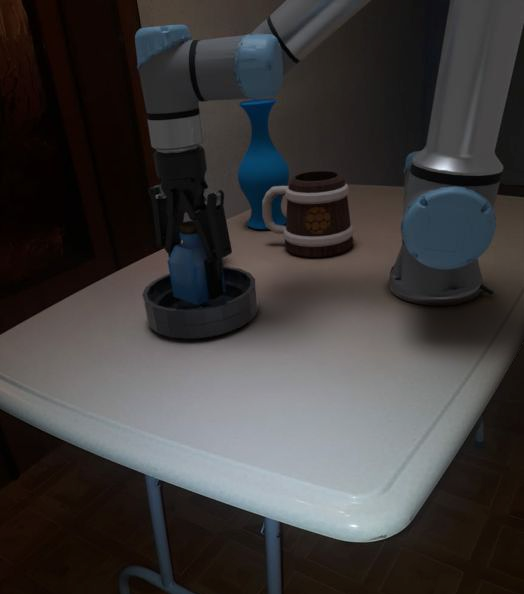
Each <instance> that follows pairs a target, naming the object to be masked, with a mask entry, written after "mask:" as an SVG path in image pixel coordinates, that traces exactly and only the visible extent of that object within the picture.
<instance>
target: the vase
mask: <svg viewBox="0 0 524 594" xmlns="http://www.w3.org/2000/svg"><path fill="white" fill-rule="evenodd" d="M277 100H278V99H274V98H259V99H256V100H252V99H250V100H246V101H241V102H239V103H238V105H239V106H240V107H241V108H242V110H244V112H245V113H246V115H247V116H248V119H249V122H250V129H251V136H250V137H251V138H250V141H249V142H250V143H249V145H248V148H247V149H246V152H245V154H244V156H243V157H242V159H241V161H240V163H239V166H238V170H237V181H238V185H239V188H240V190H241V192H242V193H243V195H244V197H245V198H246V200H247V201H248V203H249V206H250V216H249V219H248V220H247V223H246V224H247V226H248V227H249V228H251V229H253V230H270V229H269V228H268V227H266V225H265V222H264V219H263V211H262V201H263V199H264V197H265V194H266V192H267V191H268V190H270V189H271V188H272V187H275V186H288V184H289V181H290V170H289V166H288V163H287V161H286V159H285V158H284V157H283V156H282V154H281V153H280V151H279V150H278V149H277V147H276V146H275V144H274V142H273V141H272V138H271V136H270V132H269V116H270V114H271V111H272V109H273V107H274V106H275V104H276V102H278V101H277ZM283 198H284V195H277V196H276V197H275V198H274V199H273V201H272V203H271V209H272V219H273V222H274V223H275V224H276V225H281V226H285V225H286V215H284V213H283V210H282V202H283Z"/></svg>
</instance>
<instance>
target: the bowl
mask: <svg viewBox="0 0 524 594" xmlns="http://www.w3.org/2000/svg"><path fill="white" fill-rule="evenodd" d="M223 271H224V280H225V288H226V292H225V293H224V294H222V295H220V296H219V297H217V298H215V299H214V300H211V299H210V300H208V301H206V302H204V303H202V304H200V305H196V304H193V303H190V302H187V301H185V300H182V299H179V298H176V297H174V295H173V290H172V284H171V278H170V273H167V274H164V275H162V276H160V277H159V278H157V279H155V280H153V281H152V282H151V283H149V284H148V285H147V286H146V287H145V288H144V290H143V292H142V294H141V296H142V301H143V305H144V311H145V315H146V320H147V323H148V326H149V328H150V329H151V330H152V331H154V332H156V333H157V334H159V335H163V336H165V337H169V338H174V339H175V338H177V339H183V340H197V339H200V340H201V339H207V338H208V339H209V338H214V337H216V336H221V335H224V334H227V333H230V332H232V331H235V330H237V329H238V328H241V327H243V326H244V325H246V324H247V323H249V322H251V321H252V320H253V319H254V317H255V316H256V315H257V313H258V310H259V307H258V306H259V303H258V294H257V283H256V278H255V277H254V276H253V275H252V274H251V272H249V271H247V270H244V269H242V268H238V267H233V266H229V265H227V266H226V265H225V266H224V265H223Z"/></svg>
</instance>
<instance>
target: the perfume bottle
mask: <svg viewBox="0 0 524 594" xmlns="http://www.w3.org/2000/svg"><path fill="white" fill-rule="evenodd" d="M179 226H180V228H181V231H180V239H181V241H182V242H181V244H179V245H176V246H175V247H174V249H173V251H172V253H171V255H170V257H169V256H168V260H167V265H168V266H167V267H168V272H169V274H170V278H171V284H172V290H173V295H174V297H176V298H179V299H182V300H185V301H187V302H190V303H193V304H196V305H200V304H202V303H204V302H206V301H208V300H210V299H209V292H208V285H207V278H206V271H205V263H204V261H205V260H206V259H208V257H207V255H206V252H205V250H204V247H203V245H202V242H201V240H200V237H199V234H198V232H197V229H196V227H195V224H194V222H193V221H187V222H183V223H181V224H180V225H179ZM214 251H215V250H214ZM214 251H213V252H214ZM222 285H223V293H225V292H226V288H225V280H224V276H223V277H222Z"/></svg>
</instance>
